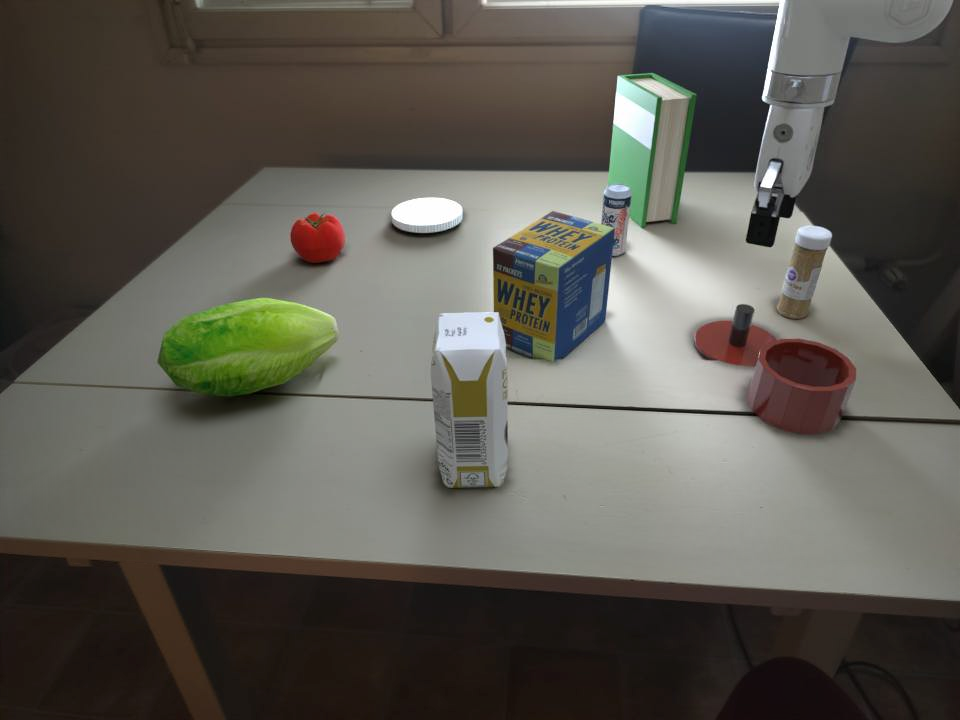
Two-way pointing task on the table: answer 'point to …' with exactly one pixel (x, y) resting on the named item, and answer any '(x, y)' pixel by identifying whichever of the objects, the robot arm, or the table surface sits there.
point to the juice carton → (470, 399)
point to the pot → (801, 385)
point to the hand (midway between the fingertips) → (769, 229)
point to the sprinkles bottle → (803, 271)
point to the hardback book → (651, 144)
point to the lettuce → (245, 346)
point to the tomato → (317, 237)
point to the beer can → (617, 214)
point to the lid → (733, 338)
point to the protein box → (552, 284)
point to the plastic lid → (426, 215)
